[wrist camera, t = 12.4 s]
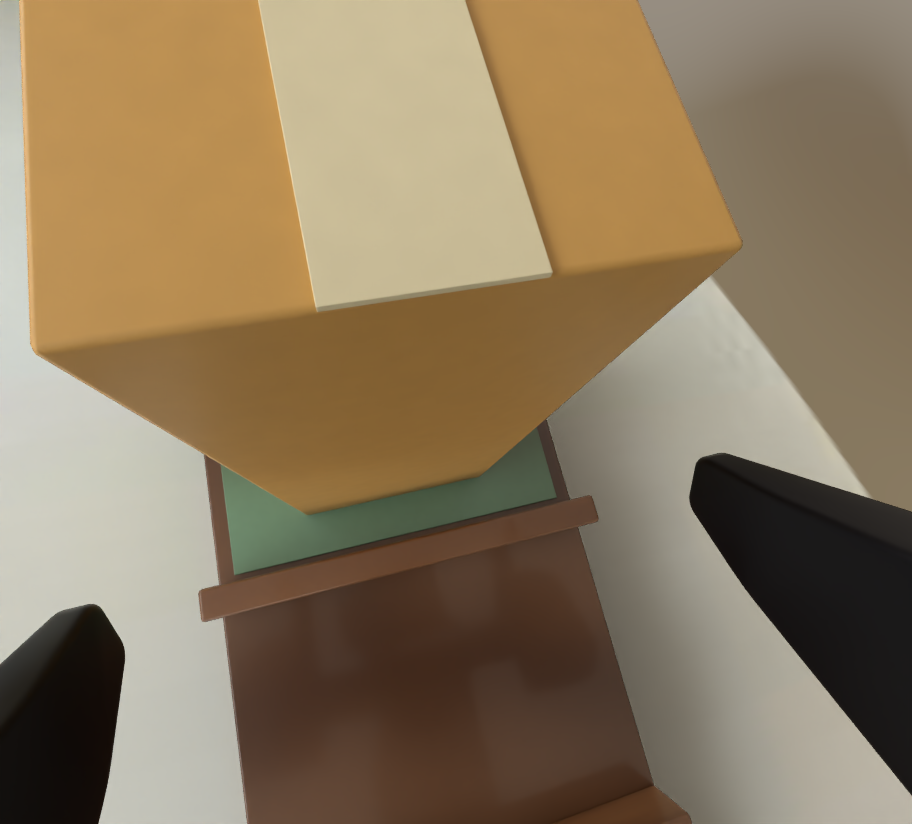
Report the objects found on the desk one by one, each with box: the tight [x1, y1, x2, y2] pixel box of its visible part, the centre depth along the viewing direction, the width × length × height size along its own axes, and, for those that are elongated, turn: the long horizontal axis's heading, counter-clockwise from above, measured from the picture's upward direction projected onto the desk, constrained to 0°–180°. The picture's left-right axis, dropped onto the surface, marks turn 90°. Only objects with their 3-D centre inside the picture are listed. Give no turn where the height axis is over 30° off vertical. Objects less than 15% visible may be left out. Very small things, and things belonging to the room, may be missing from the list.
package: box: [19, 0, 743, 515], centre depth 10 cm, size 4×6×13 cm
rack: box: [198, 419, 692, 824], centre depth 15 cm, size 26×11×5 cm, turn 14°
